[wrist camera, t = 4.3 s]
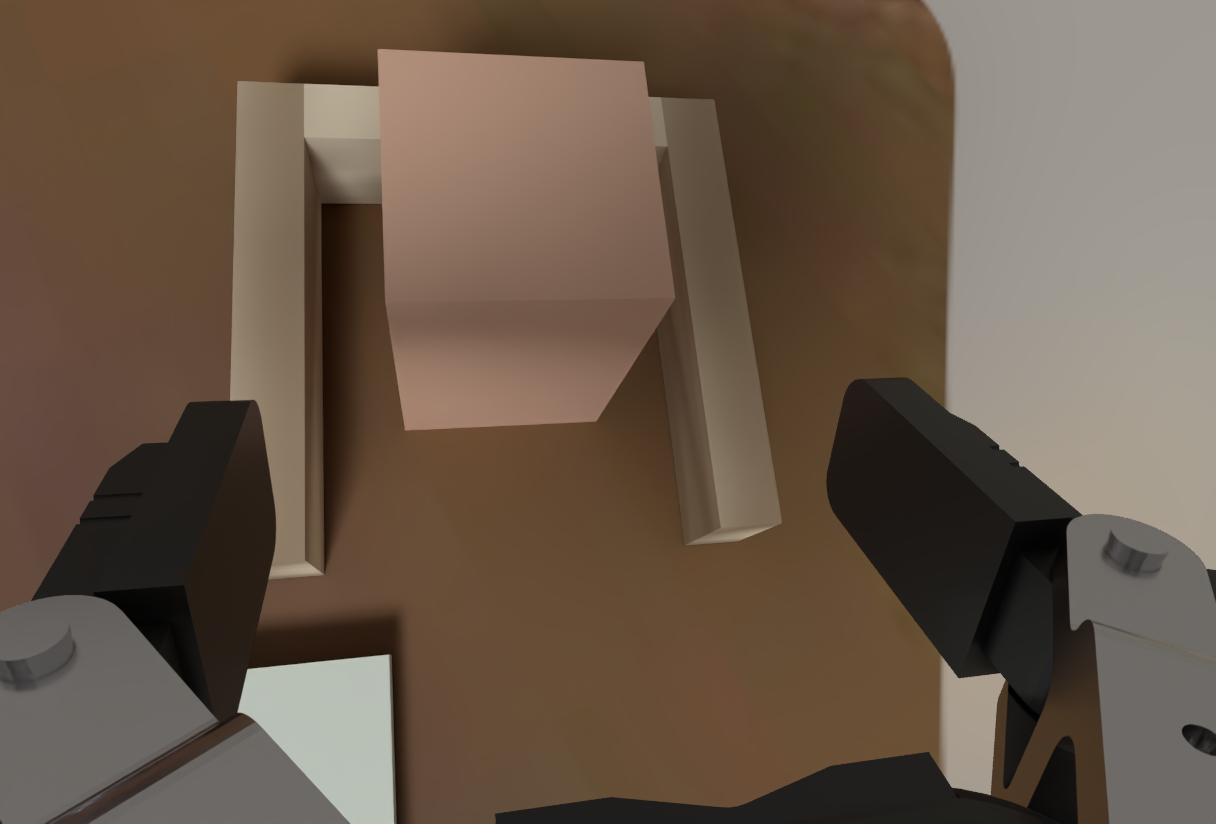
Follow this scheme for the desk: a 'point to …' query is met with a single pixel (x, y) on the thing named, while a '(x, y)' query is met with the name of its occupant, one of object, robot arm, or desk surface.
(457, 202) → the terracotta block
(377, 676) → the sage mat
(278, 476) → the maple bay
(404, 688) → the desk surface
